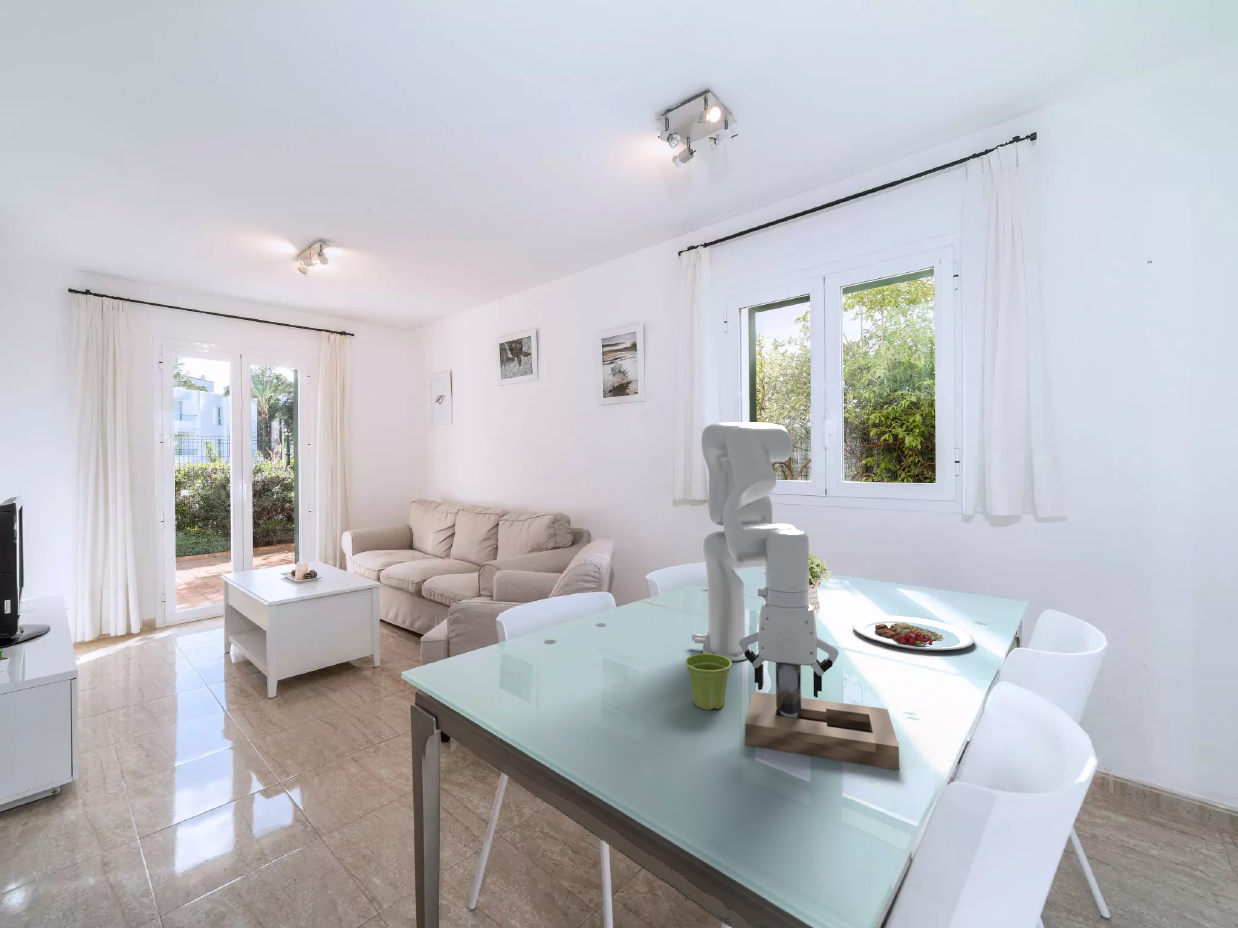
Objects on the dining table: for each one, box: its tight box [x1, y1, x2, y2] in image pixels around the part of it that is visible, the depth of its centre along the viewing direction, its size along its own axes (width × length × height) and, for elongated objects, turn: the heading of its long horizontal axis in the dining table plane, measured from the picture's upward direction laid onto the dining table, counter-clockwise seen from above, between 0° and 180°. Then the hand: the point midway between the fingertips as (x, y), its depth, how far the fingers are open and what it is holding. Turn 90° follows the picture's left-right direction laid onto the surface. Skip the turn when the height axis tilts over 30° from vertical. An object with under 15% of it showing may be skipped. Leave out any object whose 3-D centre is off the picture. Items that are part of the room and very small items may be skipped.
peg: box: [775, 662, 802, 719], centre depth 98 cm, size 6×6×13 cm
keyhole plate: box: [744, 691, 900, 771], centre depth 96 cm, size 24×14×4 cm, turn 70°
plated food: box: [852, 615, 975, 651], centre depth 151 cm, size 30×30×3 cm
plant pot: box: [684, 653, 733, 711], centre depth 110 cm, size 9×9×9 cm
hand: (787, 690), depth 98 cm, fingers open, 9 cm apart
